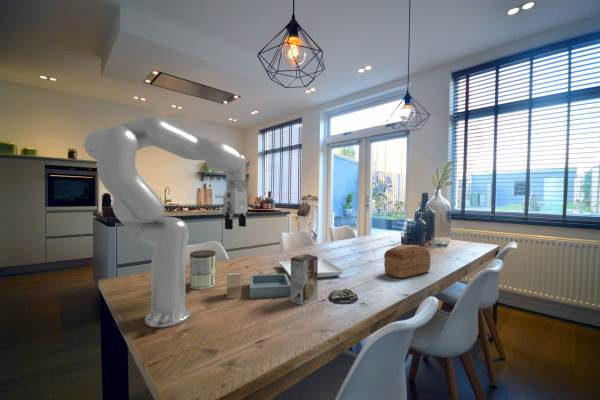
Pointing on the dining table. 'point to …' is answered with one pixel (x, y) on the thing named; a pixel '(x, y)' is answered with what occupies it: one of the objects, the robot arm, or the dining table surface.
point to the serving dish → (269, 286)
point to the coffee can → (202, 269)
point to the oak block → (234, 284)
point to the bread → (406, 261)
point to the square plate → (323, 268)
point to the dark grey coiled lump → (343, 296)
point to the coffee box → (304, 278)
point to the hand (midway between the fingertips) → (235, 227)
